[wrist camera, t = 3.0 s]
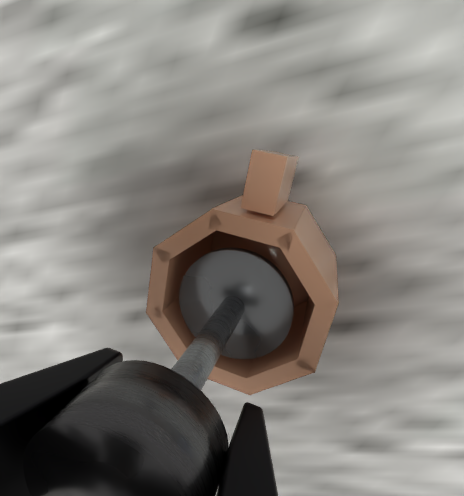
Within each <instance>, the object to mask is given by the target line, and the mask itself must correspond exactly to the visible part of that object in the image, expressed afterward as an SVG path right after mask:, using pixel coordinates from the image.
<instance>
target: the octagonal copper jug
mask: <svg viewBox="0 0 464 496" xmlns="http://www.w3.org/2000/svg"><path fill="white" fill-rule="evenodd" d="M298 159H299V157H298V156H293V155H288V154H283V153H278V152H274V151H264V150H252V154H251V159H250V164H249V168H248V173H247V178H246V183H245V188H244V193H243V195H242V196H239V197H237V198H235V199H232V200H230V201H228V202H226V203H223V204H221V205H219V206H216V207H214V208H212V209H211V210H210V211H208V212H207V213H205V214H204V215H202V216H201V217H199V218H198V219H196V220H195V221H193V222H192V223H190V224H189V225H187V226H186V227H184V228H183V229H181V230H180V231H178V232H177V233H175V234H173V235H172V236H170V237H169V238H167V239H166V240H164V241H163V242H161V243H160V244H158V245H157V246H155V247H154V248H153V257H152V266H151V274H150V283H149V291H148V300H147V308H146V313H147V315H148V316H149V318H150V319H151V321H152V322H153V324H154V325H155V327H156V328H157V330H158V331H159V333H160V334H161V336H162V337H163V339H164V340H165V342H166V343H167V345H168V346H169V348H170V349H171V351H172V352H173V354H174V355H175V357H176V358H177V360H179V359H180V357H181V356H182V355H183V353H184V352H185V351H186V349H187V348H188V347H189V345H190V344H191V343H192V341H193V340H194V339H195V336H194V335H193V334H192V332H191V331H190V330H189V328H188V326H187V325H186V323H185V321H184V318H183V316H182V313H181V309H180V304H179V292H180V286H181V282H182V280H183V277H184V275H185V273H186V272H187V270H188V269H189V268H190V266H191V265H192V264H193V263H194V262H196V261H197V260H198V259H199V258H201V257H202V256H204V255H205V254H207V253H209V252H211V251H214V250H217V249H221V248H230V247H234V248H242V249H247V250H250V251H253V252H256V253H258V254H260V255H262V256H263V257H265V258H266V259H268V260H269V261H271V262H272V263H273V264H274V265H275V266H276V267H277V268H278V269H279V270H280V271H281V272H282V274H283V275H284V277H285V278H286V280H287V282H288V284H289V286H290V288H291V291H292V295H293V299H294V315H293V320H292V324H291V328H290V330H289V333H288V335H287V336H286V338H285V340H284V341H283V342H282V343H281V344H280V345H279V346H278V347H277V348H276V349H275V350H273V351H272V352H270V353H268V354H266V355H264V356H261V357H258V358H253V359H235V358H229V357H226V356H223V355H220V357H219V359H218V360H217V362H216V364H215V366H214V368H213V370H212V371H211V373H210V375H209V377H208V379H209V380H212V381H214V382H217V383H220V384H222V385H225V386H227V387H230V388H233V389H235V390H238V391H240V392H243V393H245V394H248V395H251V394H254V393H257V392H260V391H263V390H266V389H269V388H271V387H274V386H277V385H280V384H283V383H286V382H289V381H291V380H294V379H297V378H300V377H303V376H306V375H309V374H311V373H315V370H316V367H317V364H318V361H319V359H320V356H321V353H322V350H323V347H324V344H325V341H326V338H327V335H328V332H329V330H330V327H331V324H332V321H333V318H334V315H335V312H336V309H337V306H338V304H339V300H338V281H337V263H336V254H335V253H334V251H333V249H332V248H331V246H330V244H329V243H328V241H327V239H326V238H325V236H324V234H323V233H322V231H321V229H320V228H319V226H318V224H317V223H316V221H315V219H314V218H313V216H312V214H311V213H310V211H309V209H308V208H307V205H303V204H298V203H294V202H290V201H288V198H289V194H290V190H291V186H292V183H293V179H294V175H295V171H296V167H297V163H298Z"/></svg>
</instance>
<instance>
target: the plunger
mask: <svg viewBox="0 0 464 496" xmlns="http://www.w3.org/2000/svg"><path fill="white" fill-rule="evenodd" d="M179 304H180V309H181V313H182V316H183V318H184V321H185V323H186V325H187V326H188V328H189V330H190V331H191V332H192V334H193V335H194V336H195V339H194V340H193V341H192V343H191V344H190V345H189V347H188V348H187V349H186V351H185V352H184V353H183V355H182V356H181V357H180V359H179V360H178V361H177V363H176V364H175V365H174V367H173V368H172V369H169V368H166V367H164V366H161V365H158V364H155V363H151V362H147V361H137V360H132V361H123V362H118V363H116V364H113V365H111V366H109V367H108V368H106V369H104V370H103V371H102V372H101V373H100V374H99V375H98V376H97V377H96V378H95V379H94V380H93V381H91V382H90V383H89V384H88V385H87V386H86V387H85V388H84V389H83V390H82V391H81V392H80V393H79V394H78V395H77V396H76V397H74V398H73V399H72V400H71V401H70V402H69V403H68V404H67V405H66V406H65V407H64V408H63V409H62V410H61V411H60V412H59V413H57V414H56V415H55V416H54V417H53V418H52V419H51V420H50V421H49V422H48V423H47V424H46V425H45V426H44V427H43V428H42V429H40V430H39V431H38V432H37V433H36V434H35V435H34V436H33V437H32V438H31V440H30V441H29V443H28V445H27V447H26V449H25V453H24V459H23V469H24V476H25V481H26V485H27V487H28V490H29V493H30V495H31V496H215V495H216V492H217V489H218V486H219V483H220V480H221V476H222V471H223V467H224V463H225V460H226V456H227V452H228V438H227V433H226V430H225V427H224V424H223V422H222V420H221V417H220V415H219V414H218V412H217V410H216V409H215V407H214V406H213V404H212V403H211V402H210V400H209V399H208V398H207V397H206V396H205V395H204V394H203V392H202V391H201V389H202V388H203V386H204V384H205V382H206V380H207V379H208V377H209V375H210V373H211V371H212V370H213V368H214V366H215V364H216V362H217V360H218V359H219V357H220V355H223V356H226V357H229V358H235V359H253V358H258V357H261V356H264V355H266V354H268V353H270V352H272V351H273V350H275V349H276V348H277V347H278V346H279V345H280V344H281V343H282V342H283V341H284V340H285V338H286V336H287V335H288V333H289V330H290V328H291V324H292V320H293V315H294V299H293V295H292V291H291V288H290V286H289V284H288V282H287V280H286V278H285V277H284V275H283V274H282V272H281V271H280V270H279V269H278V268H277V267H276V266H275V265H274V264H273V263H272V262H271V261H269V260H268V259H266V258H265V257H263V256H262V255H260V254H258V253H256V252H253V251H250V250H247V249H242V248H234V247H230V248H221V249H217V250H214V251H211V252H209V253H207V254H205V255H204V256H202V257H201V258H199V259H198V260H197V261H196V262H194V263H193V264H192V265H191V266H190V268H189V269H188V270H187V272H186V273H185V275H184V277H183V280H182V282H181V286H180V292H179Z"/></svg>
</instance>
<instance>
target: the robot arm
mask: <svg viewBox="0 0 464 496" xmlns="http://www.w3.org/2000/svg"><path fill="white" fill-rule="evenodd" d="M122 361H123V356H122V353H120V352H118V351H116V350H113V349H111V348H104V349H101V350H98V351H95V352H93V353H90V354H87V355H84V356H81V357H78V358H75V359H72V360H69V361H66V362H63V363H60V364H57V365H54V366H51V367H48V368H45V369H43V370H40V371H37V372H34V373H31V374H28V375H25V376H22V377H19V378H16V379H13V380H10V381H7V382H4V383H1V384H0V496H31V495H30V493H29V490H28V487H27V485H26V481H25V476H24V469H23V459H24V453H25V449H26V447H27V445H28V443H29V441H30V440H31V438H32V437H33V436H34V435H35V434H36V433H37V432H38V431H39V430H40V429H42V428H43V427H44V426H45V425H46V424H47V423H48V422H49V421H50V420H51V419H52V418H53V417H54V416H55V415H56V414H57V413H59V412H60V411H61V410H62V409H63V408H64V407H65V406H66V405H67V404H68V403H69V402H70V401H71V400H72V399H73V398H74V397H76V396H77V395H78V394H79V393H80V392H81V391H82V390H83V389H84V388H85V387H86V386H87V385H88V384H89V383H90V382H91V381H93V380H94V379H95V378H96V377H97V376H98V375H99V374H100V373H101V372H102V371H103V370H104V369H106V368H108V367H109V366H111V365H113V364H116V363H118V362H122ZM216 496H278V492H277V487H276V481H275V476H274V470H273V464H272V459H271V453H270V448H269V442H268V437H267V431H266V426H265V420H264V414H263V410H262V409H261V408H260V407H258V406H256V405H253V404H250V403H245V404H244V406H243V409H242V412H241V414H240V417H239V420H238V422H237V425H236V428H235V430H234V433H233V436H232V439H231V442H230V445H229V448H228V452H227V456H226V460H225V463H224V467H223V471H222V476H221V480H220V483H219V487H218V490H217V494H216Z"/></svg>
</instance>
